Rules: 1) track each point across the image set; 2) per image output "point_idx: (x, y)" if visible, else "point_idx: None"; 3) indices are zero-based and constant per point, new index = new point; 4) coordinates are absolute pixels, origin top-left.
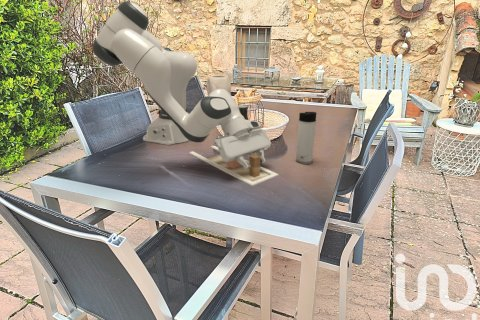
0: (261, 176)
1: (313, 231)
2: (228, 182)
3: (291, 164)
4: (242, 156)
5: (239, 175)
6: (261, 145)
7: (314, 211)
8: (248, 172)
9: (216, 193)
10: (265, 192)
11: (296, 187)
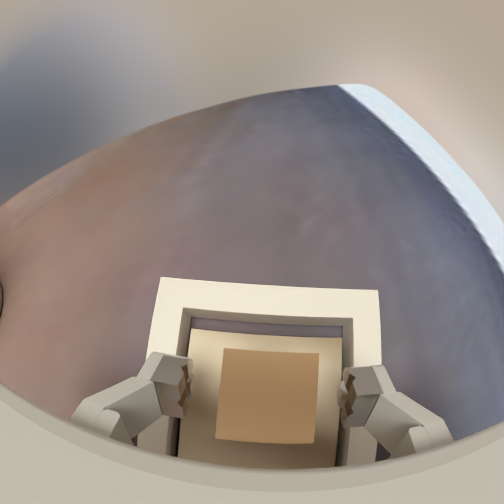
0: (243, 346)
1: (349, 88)
2: None
3: (15, 335)
4: (419, 442)
5: (355, 434)
6: (42, 434)
7: (287, 103)
8: (259, 446)
9: (481, 374)
10: (328, 246)
11: (190, 191)
